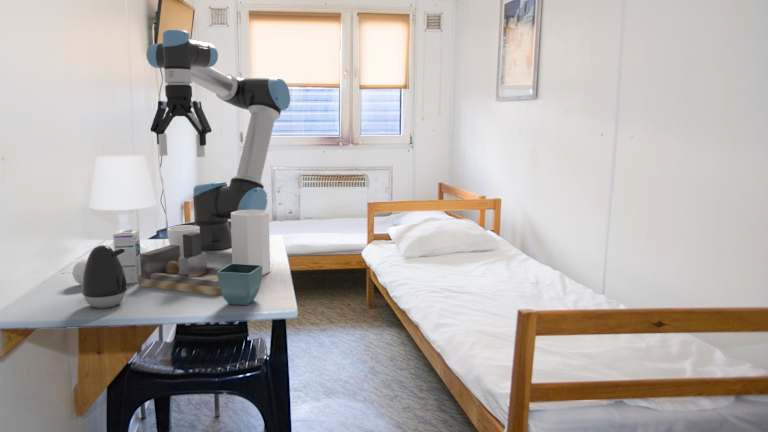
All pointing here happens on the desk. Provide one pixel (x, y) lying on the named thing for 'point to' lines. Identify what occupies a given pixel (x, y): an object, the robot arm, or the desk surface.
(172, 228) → the foam cup
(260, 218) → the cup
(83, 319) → the desk surface
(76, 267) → the white ball
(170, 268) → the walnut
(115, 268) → the pump dispenser
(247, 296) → the flower pot
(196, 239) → the block
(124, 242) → the syrup box
